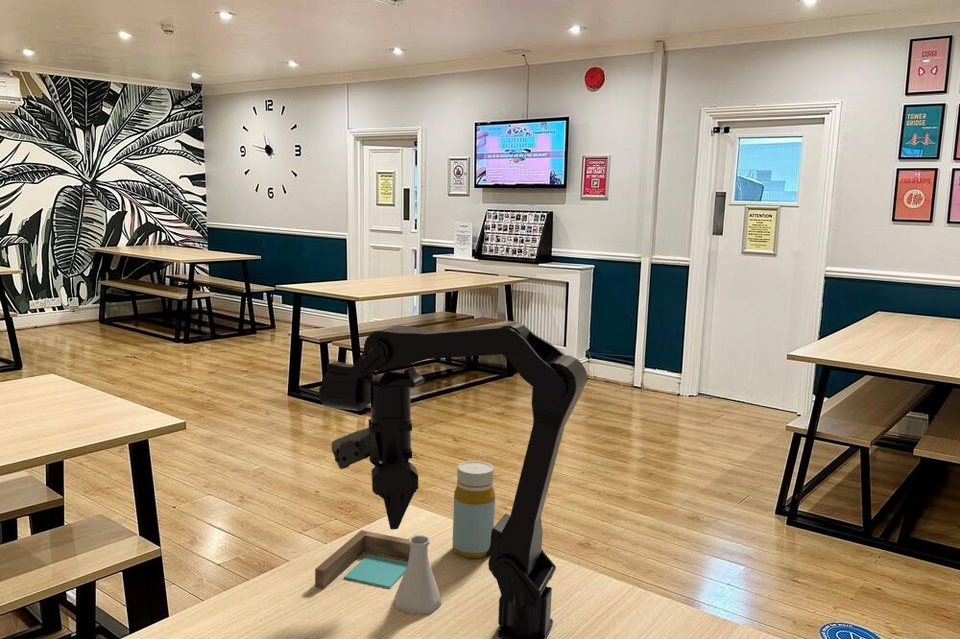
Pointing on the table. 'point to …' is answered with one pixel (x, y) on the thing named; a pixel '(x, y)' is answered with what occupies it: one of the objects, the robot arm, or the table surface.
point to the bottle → (473, 509)
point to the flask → (418, 581)
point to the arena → (355, 549)
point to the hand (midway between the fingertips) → (392, 516)
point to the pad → (377, 571)
